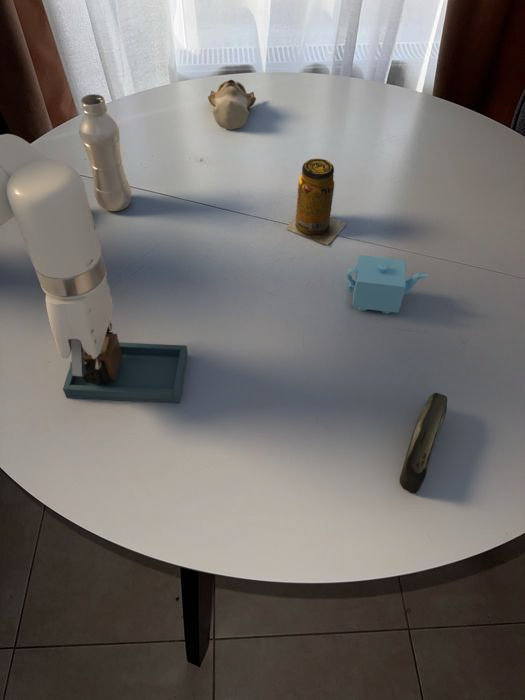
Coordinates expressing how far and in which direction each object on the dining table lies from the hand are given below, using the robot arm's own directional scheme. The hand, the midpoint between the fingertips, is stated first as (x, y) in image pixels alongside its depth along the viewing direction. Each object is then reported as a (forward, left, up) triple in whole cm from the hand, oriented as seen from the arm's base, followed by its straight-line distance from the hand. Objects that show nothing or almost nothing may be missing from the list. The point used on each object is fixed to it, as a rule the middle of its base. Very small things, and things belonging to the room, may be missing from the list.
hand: (101, 365), depth 80 cm
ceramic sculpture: (+12, +72, -2) cm, 73 cm away
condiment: (+30, +35, -2) cm, 46 cm away
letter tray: (+3, 0, -2) cm, 4 cm away
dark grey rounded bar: (+43, -9, -2) cm, 44 cm away
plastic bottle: (-7, +39, -2) cm, 40 cm away
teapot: (+40, +17, -2) cm, 44 cm away
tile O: (0, 0, 0) cm, 0 cm away
